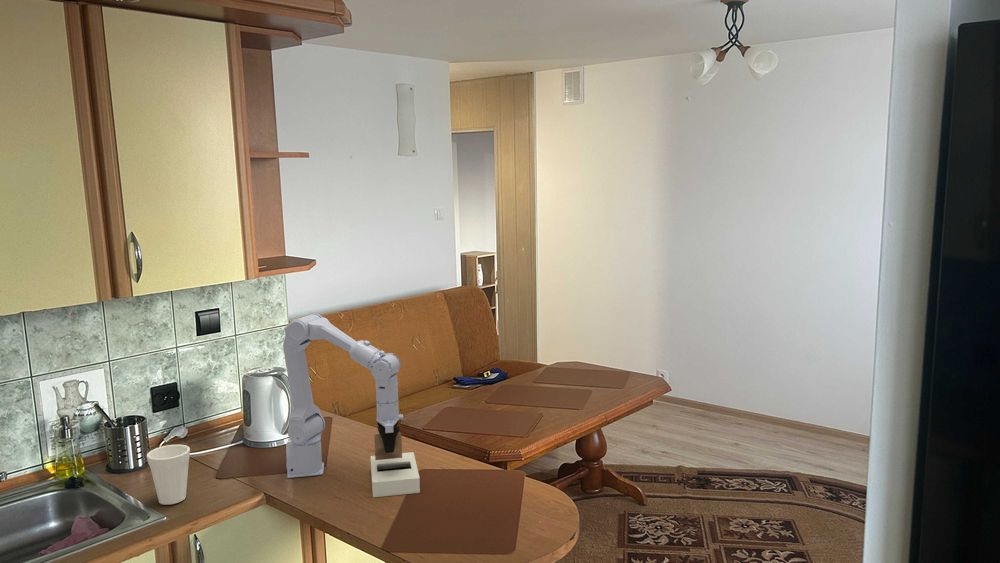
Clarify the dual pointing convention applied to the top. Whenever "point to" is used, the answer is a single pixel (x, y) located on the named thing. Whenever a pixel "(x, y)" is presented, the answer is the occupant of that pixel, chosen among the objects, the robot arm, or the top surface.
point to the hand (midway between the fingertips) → (389, 449)
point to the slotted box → (395, 476)
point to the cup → (170, 472)
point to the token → (380, 450)
